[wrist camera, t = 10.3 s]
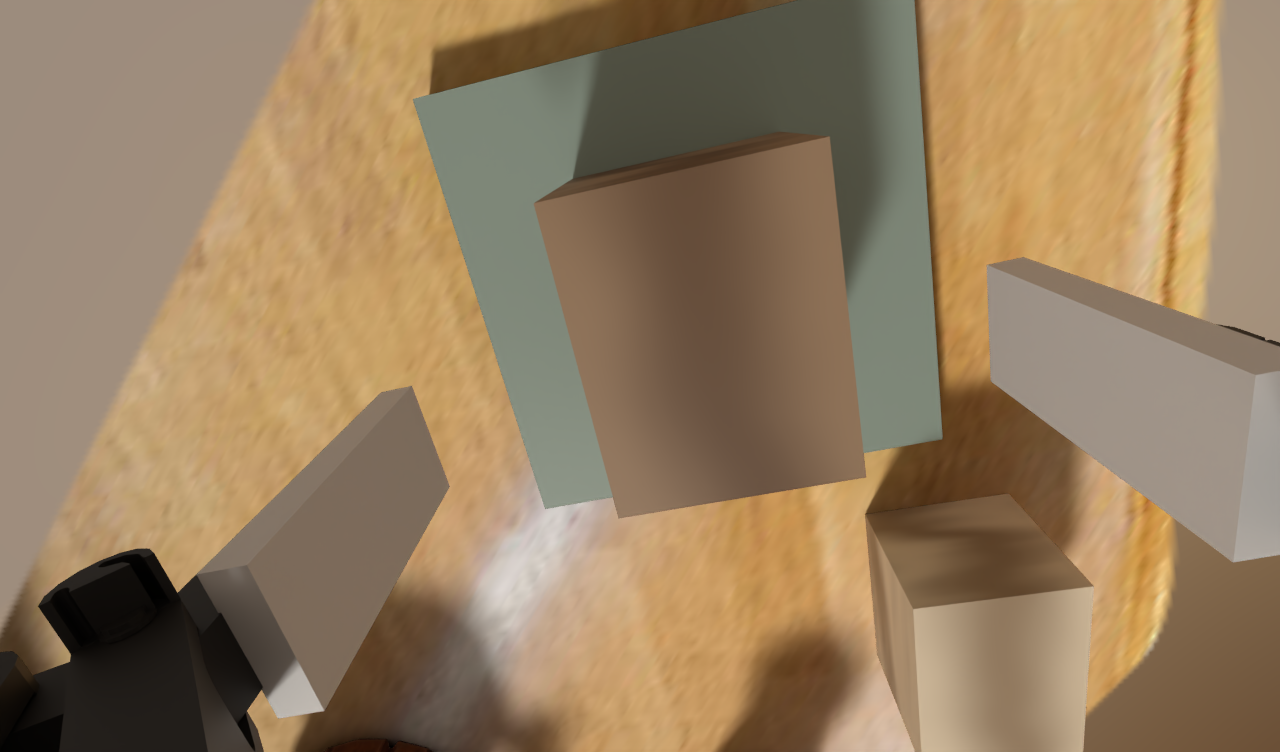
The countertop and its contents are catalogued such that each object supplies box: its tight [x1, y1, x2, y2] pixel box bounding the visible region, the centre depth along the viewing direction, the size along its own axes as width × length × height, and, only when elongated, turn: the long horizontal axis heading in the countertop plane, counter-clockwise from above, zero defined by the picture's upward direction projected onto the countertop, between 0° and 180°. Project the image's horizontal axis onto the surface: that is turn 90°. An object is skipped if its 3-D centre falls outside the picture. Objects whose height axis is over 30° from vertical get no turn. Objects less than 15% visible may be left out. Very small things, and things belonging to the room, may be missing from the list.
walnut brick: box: [534, 132, 866, 518], centre depth 20 cm, size 7×9×7 cm
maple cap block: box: [865, 494, 1094, 752], centre depth 27 cm, size 6×8×6 cm
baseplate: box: [413, 0, 943, 509], centre depth 24 cm, size 16×16×2 cm
